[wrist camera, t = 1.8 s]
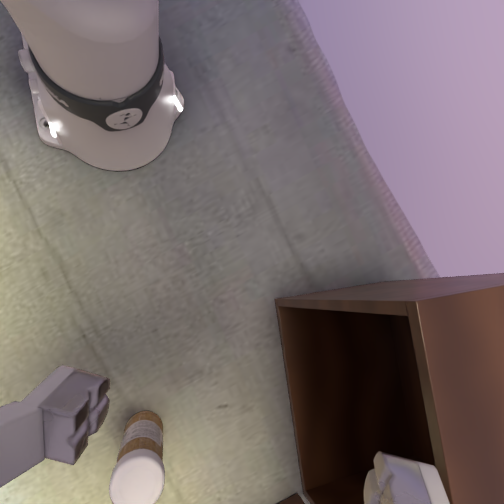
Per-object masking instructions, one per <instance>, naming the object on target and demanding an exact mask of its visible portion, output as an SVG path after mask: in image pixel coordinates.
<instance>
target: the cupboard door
mask: <svg viewBox="0 0 504 504" xmlns="http://www.w3.org/2000/svg"><path fill="white" fill-rule="evenodd" d="M278 504H305V503H304V502H303V500H302V499H301V497H300V496H299V495H298V493H297V494H295V495H293V496H291V497H289V498H288V499H286V500H284V501H282V502H280V503H278Z"/></svg>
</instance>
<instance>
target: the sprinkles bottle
mask: <svg viewBox="0 0 504 504" xmlns="http://www.w3.org/2000/svg"><path fill="white" fill-rule="evenodd" d="M162 432H163V425H162V422H161V419H160V418H159V417H158V416H157V414H155V413H153V412H150V411H142V412H139V413H137V414H135V415H134V416H132V417H131V418H130V419H129V421H128V422H127V424H126V427H125V430H124V436H123V439H122V442H121V446H120V450H119V454H118V458H117V464H116V465H115V467H114V469H113V472H112V475H111V480H110V485H109V493H110V498H111V500H112V502H113V504H154V503H155V502H156V501H157V500H158V499H159V497H160V495H161V493H162V491H163V487H164V482H165V470H164V465H163V462H162V457H163V453H162V452H163V435H162Z"/></svg>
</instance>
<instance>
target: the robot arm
mask: <svg viewBox="0 0 504 504" xmlns="http://www.w3.org/2000/svg"><path fill="white" fill-rule="evenodd" d="M0 1H1V2H2V4H3V5H4V6H5V8H6V9H7V11H8V12H9V14H10V15H11V17H12V19H13V20H14V22H15V23H16V25H17V27H18V28H19V30H20V31H21V33H22V41H23V47H24V49H21V50H18V55H19V59H20V62H21V65H22V67H23V69H24V71H25V72H27V73H28V77H29V81H28V82H29V86H30V89H31V94H32V100H33V106H34V112H35V118H36V124H37V130H38V134H39V137H40V139H41V141H42V142H43V143H45V144H46V145H49V146H52V147H55V148H59V149H63V150H67V151H69V152H71V153H72V154H74V155H75V156H77V157H78V158H79V159H81V160H82V161H84V162H86V163H88V164H90V165H92V166H95V167H97V168H101V169H105V170H111V171H126V170H132V169H136V168H139V167H142V166H144V165H146V164H148V163H150V162H151V161H153V160H154V159H155V158H156V157H157V156H158V155H159V154H160V153H161V152H162V151H163V150H164V148H165V147H166V145H167V143H168V141H169V138H170V135H171V131H172V126H173V123H174V121H175V120H176V118H177V117H178V116H179V115H180V114H181V112H182V111H183V109H184V98H183V96H182V95H181V93H180V92H179V90H178V89H177V87H176V86H175V82H174V74H173V72H172V71H170V70H169V69H168V67H167V65H166V64H165V61H164V53H163V49H162V43H161V40H160V37H159V0H0ZM47 124H49V126H50V127H49V128H46V127H45V126H46V125H47ZM109 389H110V379H109V378H107V377H103V376H100V375H97V374H93V373H90V372H87V371H83V370H80V369H76V368H72V367H69V366H66V365H61V366H59V367H57V368H56V369H55V370H54V371H53V372H52V373H50V374H49V375H48V376H47V377H46V378H45V379H44V380H43V381H42V382H41V383H40V384H39V385H38V386H37V387H36V388H35V389H33V390H32V391H31V392H30V393H29V394H28V395H27V396H26V397H25V398H24V399H23V400H22V401H21V402H17V401H14V402H11V403H9V404H6V405H4V406H1V407H0V487H2V486H4V485H5V484H7V483H8V482H10V481H12V480H13V479H15V478H16V477H18V476H19V475H21V474H23V473H24V472H26V471H27V470H29V469H30V468H32V467H34V466H35V465H37V464H38V463H40V462H42V461H43V460H44V459H45V458H48V459H52V460H55V461H59V462H63V463H67V464H71V465H74V464H75V462H76V461H77V460H78V458H79V457H80V455H81V454H82V453H83V451H84V450H85V448H86V447H87V446H88V436H90V435H92V434H94V433H96V432H97V431H98V430H99V428H100V427H101V425H102V424H103V422H104V420H105V417H106V415H107V412H108V408H109V398H108V396H107V395H106V393H107V391H108V390H109ZM373 461H374V467H375V468H374V469H372V470H370V471H369V472H368V474H367V477H366V479H365V485H364V504H450V503H449V500H448V497H447V495H446V492H445V489H444V487H443V484H442V481H441V479H440V476H439V474H438V471H437V469H436V468H435V466H434V465H430V464H426V463H422V462H418V461H414V460H411V459H407V458H403V457H399V456H395V455H392V454H388V453H384V452H380V451H379V452H378V453H377V454H376V456H375V458H374V460H373Z"/></svg>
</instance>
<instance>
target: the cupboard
mask: <svg viewBox="0 0 504 504" xmlns="http://www.w3.org/2000/svg"><path fill="white" fill-rule="evenodd" d="M275 304H276V311H277V318H278V324H279V331H280V338H281V345H282V351H283V358H284V365H285V372H286V378H287V385H288V392H289V399H290V406H291V412H292V419H293V426H294V433H295V439H296V446H297V453H298V460H299V466H300V473H301V480H302V487H303V494H304V495H305V497H306V498H307V500H308V501H309V502H310V504H364V485H365V479H366V477H367V474H368V472H369V471H370V470H372V469H374V468H375V467H374V461H373V460H374V458H375V456H376V454H377V453H378V452H379V451H380V452H384V453H388V454H392V455H395V456H399V457H403V458H407V459H411V460H414V461H418V462H422V463H426V464H430V465H434V466H435V468H436V469H437V471H438V474H439V476H440V479H441V481H442V484H443V487H444V489H445V492H446V495H447V497H448V500H449V503H450V504H504V273H499V274H485V275H471V276H456V277H442V278H427V279H413V280H399V281H385V282H378V283H372V284H366V285H359V286H353V287H347V288H340V289H334V290H328V291H322V292H315V293H309V294H303V295H296V296H290V297H284V298H277V299H275Z"/></svg>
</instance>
